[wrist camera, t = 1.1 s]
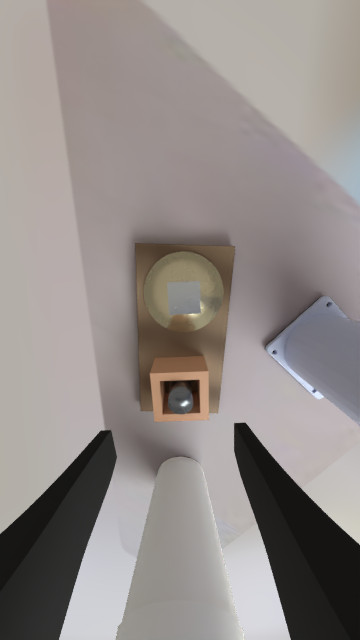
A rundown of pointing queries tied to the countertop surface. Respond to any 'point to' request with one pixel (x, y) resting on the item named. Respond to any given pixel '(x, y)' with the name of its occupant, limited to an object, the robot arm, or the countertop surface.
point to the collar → (180, 371)
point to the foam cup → (180, 565)
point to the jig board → (182, 344)
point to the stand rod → (180, 396)
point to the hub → (183, 291)
